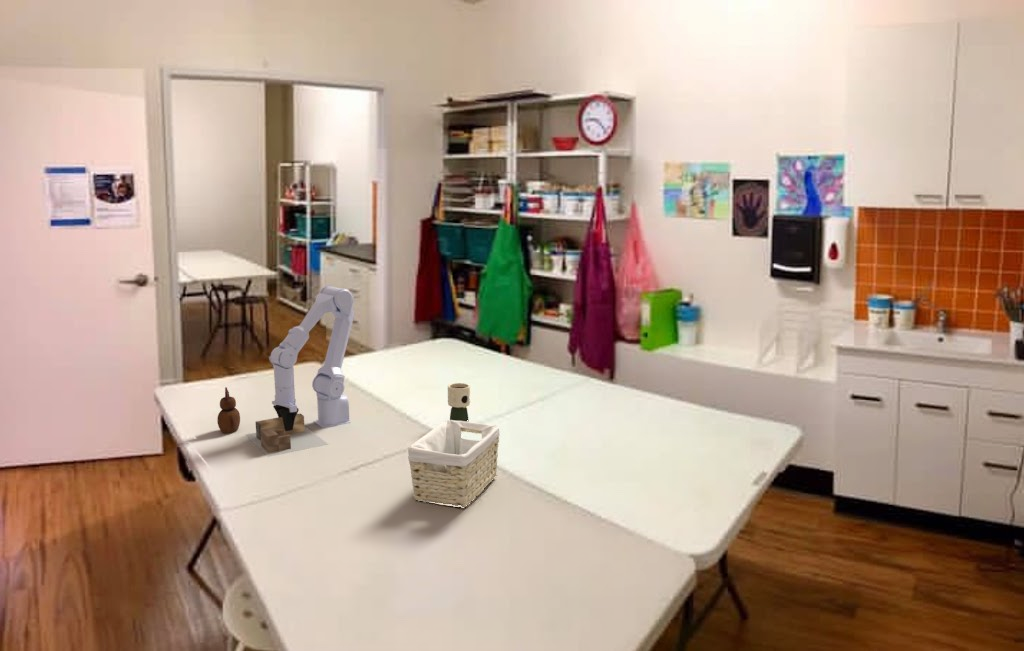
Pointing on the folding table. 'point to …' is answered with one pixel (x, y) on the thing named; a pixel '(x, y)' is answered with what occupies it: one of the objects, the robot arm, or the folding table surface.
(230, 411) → the wooden figurine
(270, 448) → the bracket
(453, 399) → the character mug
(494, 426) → the storage basket
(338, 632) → the folding table surface
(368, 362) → the folding table surface
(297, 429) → the rail
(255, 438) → the mat
